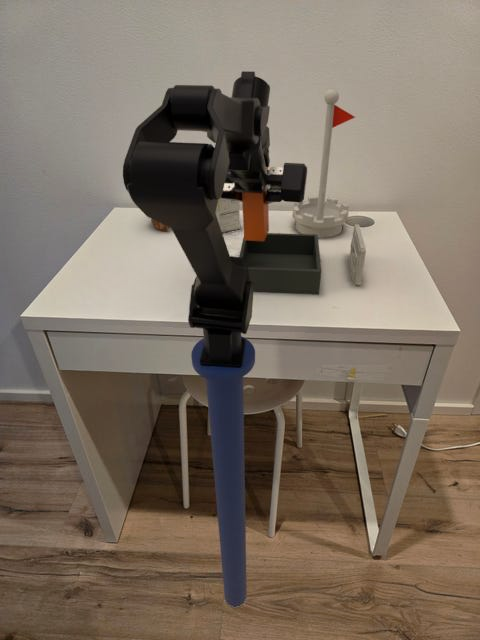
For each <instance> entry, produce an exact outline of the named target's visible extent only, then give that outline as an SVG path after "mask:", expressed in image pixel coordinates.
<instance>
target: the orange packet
mask: <svg viewBox="0 0 480 640" xmlns="http://www.w3.org/2000/svg"><path fill="white" fill-rule="evenodd" d="M266 170H269V167H266ZM266 193H267V190H263V193H247V192H242V202H241V204H242V223H243V224H242V226H243V227H242V228H243V237H244V240H248V241H265V238H266V236H267V234H268V233H269V231H270V228H269V227H270V224H269V223H270V221H269V220H270V218H269V217H270V216H269V213H270V212H269V204H266V201H265V200H266Z"/></svg>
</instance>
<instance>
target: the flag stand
mask: <svg viewBox="0 0 480 640" xmlns="http://www.w3.org/2000/svg"><path fill="white" fill-rule="evenodd" d="M339 98H340V94H339V92H338V90H337V89H336V88H329V89H327V90H326V92H325V94H324V98H323V99H324V102H325V103H326V113H325V123H324V134H323V144H322V156H321V165H320V177H319V187H318V189H319V190H318V196H307V201H304V200H303V201H302V202H293V203H294V204H293V206H292V214H291V215H292V218H293V220H294V221H295V229H296V231H297V232H299V234H318V239H323V238H324V239H326V238H332V237H335V236H338V235H339V234H340V233H341V232H342V231H343V225H344V224H346V222H347V221H348V219H349V209H350V206H349V204H348V203H346V202H341V203H340V204H339V203H338V201H339V198H335V197H330V196H328V197H327V198H326V193H327V182H328V172H329V164H330V163H329V162H330V154H331V145H332V144H331V143H332V133H333V128H335V127H338V126H340V125H343V124H344V123H347V122H349V121H350V120H353V119H354V118H356V116H354V115H353V114H352V113H350V112H348V111H346V110H344V109H342V108H341V107H339V106H338V105H336V104H337V102H338V101H339Z"/></svg>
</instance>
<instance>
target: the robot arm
mask: <svg viewBox="0 0 480 640" xmlns="http://www.w3.org/2000/svg"><path fill="white" fill-rule="evenodd" d="M240 73H241V75H240V77H238V78H236V80H234V82H233V85H232V91H231V92H232V93H231V97H229V96H228V95H226V94H224V93H222V90H221V89H220V88H215V86H213V85H209V84H208V85H206V84H205V85H204V84H202V85H201V84H175V85H174V86H173V87H168V88H167V90H166V91H165V94H164V97H163V100H162V103H161V105H160V106H159V107H158V108H157V109H156V110H155V111H153V112H152V113H151V114H150V115H148V117H147V118H145V119H144V120H143V121H142V122H141V123H140V124H139V125H137V126H136V128H135V130H134V133H133V135H132V138H131V141H130V144H129V146H128V149H127V152H126V155H125V156H124V160H123V165H122V180H123V184H124V188H125V189H126V192H128V195H129V196H130V200H131V201H132V202H133V203H134V204H135V206H136V207H137V208H138V209H139V210H140V211H141V212H142V213H143V214H144V215H145V216H146V217H147V218H149V219H151V220H152V219H153V220H155V221H158V222H160V223H162V224H164V225H166V226H168V227H170V230H171V231H172V233H173V235H174V236H175V238H176V240H177V242H178V244H179V245H180V249H181V250H182V251H183V254H184V256H185V257H186V259H187V260H188V262H189V264H190V266H191V269H192V270H193V272H194V274H195V275H196V276H195V278H194V281H193V283H192V285H191V288H190V298H189V307H188V308H189V309H188V319H187V322H188V324H189V328H191V329H196V328H198V329H202V332H203V338H204V347H203V350H202V354H201V358H200V365H201V366H216V367H234V368H240V367H242V364H243V357H244V350H245V339H241V336H242V334H243V335H247V333H248V330H249V326H250V323H251V321H252V318H253V307H254V293H255V292H254V283H253V281H250V276H249V273H248V271H249V269H248V268H247V264H246V260H245V259H244V258H243V257H239V256H231V255H230V252H229V250H228V247H227V243H226V241H225V237H224V235H223V232H222V231H221V228H220V225H219V222H218V219H217V216H216V208H217V203H218V200H219V199H220V198H223V199H230V200H235V201H239V203H242V192H247V193H263V190H267V193H266V200H265V201H266V204H268V205H270V204H273V203H281V202H282V201H283V202H285V203H295V202H302V201H303V202H304V200H305V194H306V186H307V177H308V166H307V165H306V164H305V163H300V162H299V163H298V162H284V164H283V166H272V167H270V163H271V159H270V146H271V141H270V140H271V139H270V138H271V137H270V136H271V135H270V127H269V126H268V123H269V117H270V109H271V108H270V105H269V101H270V93H271V85H270V84H269V83H268V82H267V81H265V79H263V78H261V77H259V76H256V71H251V70H250V71H246V70H244V71H241V72H240ZM178 131H184V132H185V131H186V132H203V133H206V137H207V138H208V139H209V140H210V141H211V142H212V143H214V144H215V145H214V146H213V144H212V143H205V142H204V143H201V142H180V141H179V142H176V141H173V140H174V139H175V138H176V136H177V135H178ZM266 167H268V168H269V169H268V170H266ZM242 341H243V342H242ZM202 362H204V363H202ZM238 364H240V365H238Z"/></svg>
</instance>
